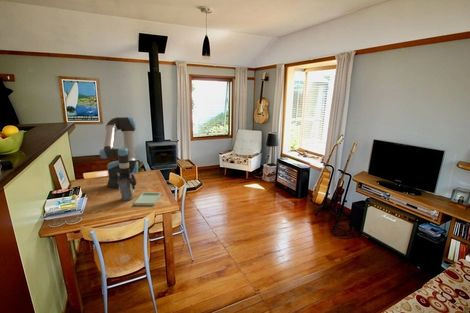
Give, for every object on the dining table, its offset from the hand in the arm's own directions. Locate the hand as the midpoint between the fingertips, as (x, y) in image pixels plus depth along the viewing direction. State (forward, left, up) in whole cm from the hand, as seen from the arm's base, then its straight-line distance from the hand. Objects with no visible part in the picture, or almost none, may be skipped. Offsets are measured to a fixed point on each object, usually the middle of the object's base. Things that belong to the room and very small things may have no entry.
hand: (126, 192), depth 201 cm
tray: (+2, +18, -6) cm, 19 cm away
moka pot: (0, 0, -6) cm, 6 cm away
